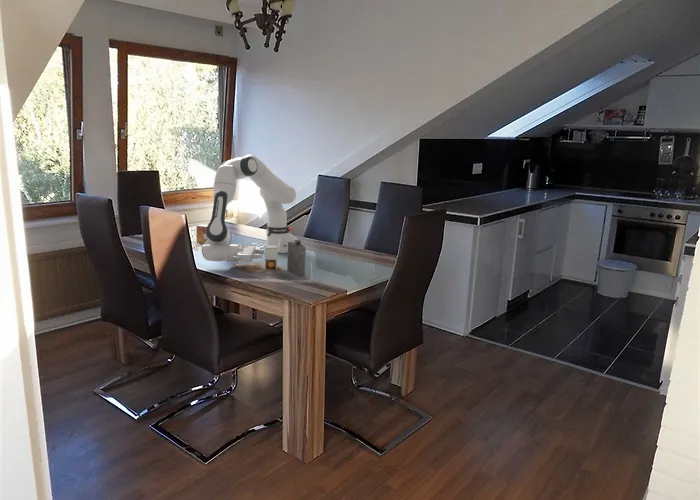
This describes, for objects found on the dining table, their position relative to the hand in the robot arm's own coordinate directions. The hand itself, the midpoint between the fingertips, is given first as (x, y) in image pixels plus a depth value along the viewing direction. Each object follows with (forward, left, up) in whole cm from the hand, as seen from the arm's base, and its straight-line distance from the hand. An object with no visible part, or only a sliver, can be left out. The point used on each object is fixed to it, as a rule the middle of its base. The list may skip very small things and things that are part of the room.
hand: (263, 254), depth 273 cm
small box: (+12, -71, -8) cm, 73 cm away
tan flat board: (+1, -1, -8) cm, 8 cm away
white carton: (-4, +2, -7) cm, 8 cm away
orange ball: (-4, +2, -5) cm, 7 cm away
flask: (-12, +16, -8) cm, 21 cm away
